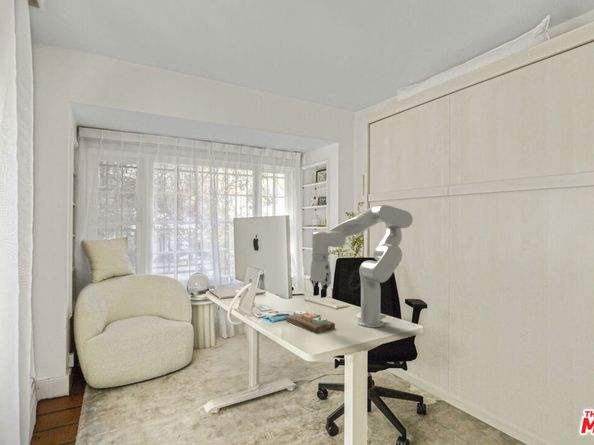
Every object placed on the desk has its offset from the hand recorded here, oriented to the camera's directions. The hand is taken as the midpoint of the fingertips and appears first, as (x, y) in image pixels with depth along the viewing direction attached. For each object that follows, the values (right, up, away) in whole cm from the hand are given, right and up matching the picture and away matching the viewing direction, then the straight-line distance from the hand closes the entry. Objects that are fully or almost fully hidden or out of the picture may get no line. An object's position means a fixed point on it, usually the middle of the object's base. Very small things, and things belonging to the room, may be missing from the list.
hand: (319, 296), depth 156 cm
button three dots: (0, -14, 0) cm, 14 cm away
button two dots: (-5, -14, +6) cm, 16 cm away
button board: (-5, -15, +6) cm, 17 cm away
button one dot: (-9, -14, +12) cm, 20 cm away
